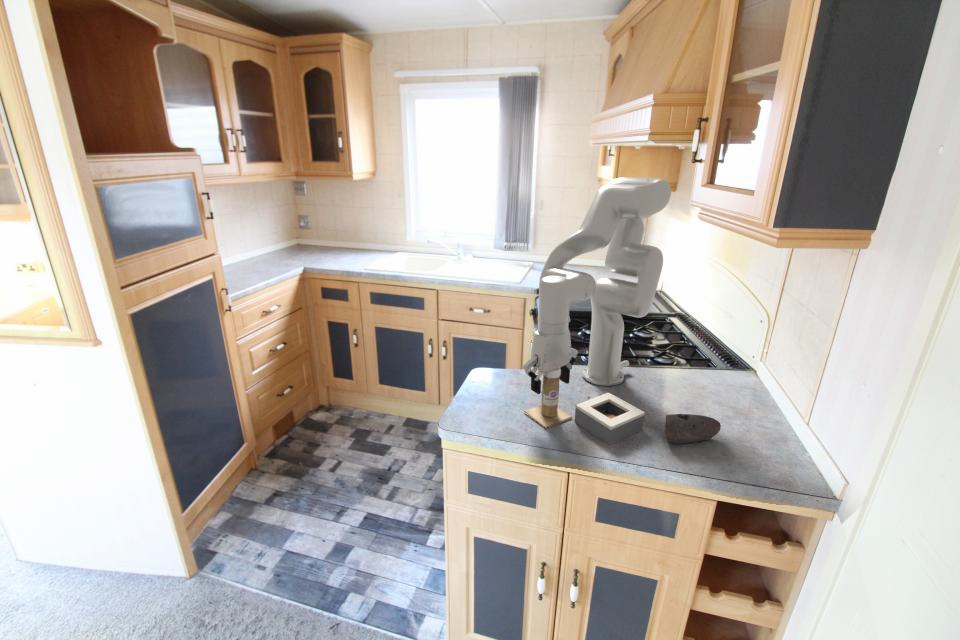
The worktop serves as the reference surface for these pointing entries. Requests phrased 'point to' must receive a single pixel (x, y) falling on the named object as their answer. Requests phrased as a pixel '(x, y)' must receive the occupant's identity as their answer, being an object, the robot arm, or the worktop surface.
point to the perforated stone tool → (690, 428)
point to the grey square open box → (605, 427)
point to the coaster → (545, 420)
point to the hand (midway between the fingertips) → (550, 386)
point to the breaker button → (609, 416)
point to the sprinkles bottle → (550, 392)
